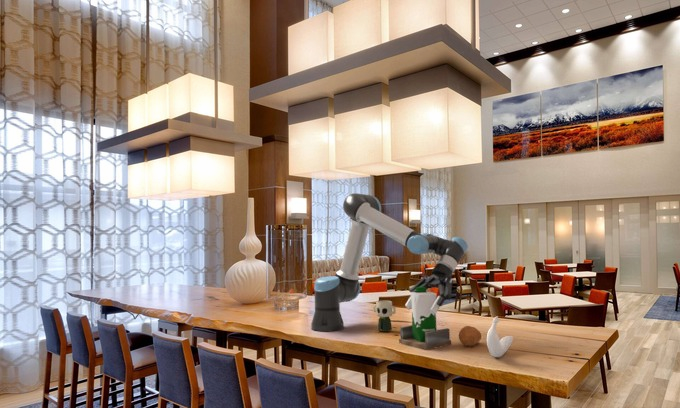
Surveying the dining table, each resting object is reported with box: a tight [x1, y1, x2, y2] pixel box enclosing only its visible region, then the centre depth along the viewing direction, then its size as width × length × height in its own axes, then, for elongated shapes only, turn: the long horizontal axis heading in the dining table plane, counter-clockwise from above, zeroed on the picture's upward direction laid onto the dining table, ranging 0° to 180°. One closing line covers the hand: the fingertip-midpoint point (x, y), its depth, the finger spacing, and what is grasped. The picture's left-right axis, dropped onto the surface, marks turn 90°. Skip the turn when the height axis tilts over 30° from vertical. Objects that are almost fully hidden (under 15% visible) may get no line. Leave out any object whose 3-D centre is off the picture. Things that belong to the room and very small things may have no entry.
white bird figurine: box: [486, 316, 514, 358], centre depth 148 cm, size 5×19×15 cm, turn 146°
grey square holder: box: [398, 325, 452, 351], centre depth 168 cm, size 14×14×6 cm
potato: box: [458, 325, 483, 348], centre depth 165 cm, size 7×13×7 cm, turn 142°
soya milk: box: [410, 287, 438, 342], centre depth 169 cm, size 9×9×20 cm
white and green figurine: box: [372, 300, 397, 332], centre depth 193 cm, size 11×7×13 cm, turn 58°
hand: (419, 309), depth 168 cm, fingers open, 13 cm apart
